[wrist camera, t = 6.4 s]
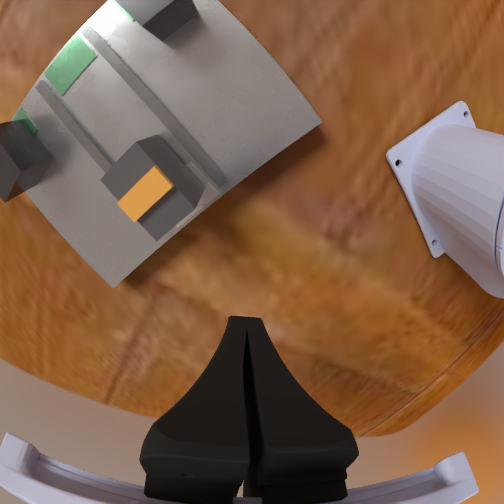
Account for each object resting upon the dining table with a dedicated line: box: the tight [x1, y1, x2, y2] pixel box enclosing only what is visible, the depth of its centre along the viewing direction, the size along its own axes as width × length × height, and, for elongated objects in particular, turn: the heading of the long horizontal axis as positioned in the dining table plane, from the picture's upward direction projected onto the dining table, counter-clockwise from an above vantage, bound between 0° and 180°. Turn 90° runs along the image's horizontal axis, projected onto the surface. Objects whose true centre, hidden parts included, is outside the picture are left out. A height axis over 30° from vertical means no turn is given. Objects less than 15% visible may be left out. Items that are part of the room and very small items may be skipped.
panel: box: [0, 0, 322, 288], centre depth 13 cm, size 14×17×5 cm
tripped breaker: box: [100, 135, 205, 241], centre depth 14 cm, size 4×2×4 cm, turn 38°
